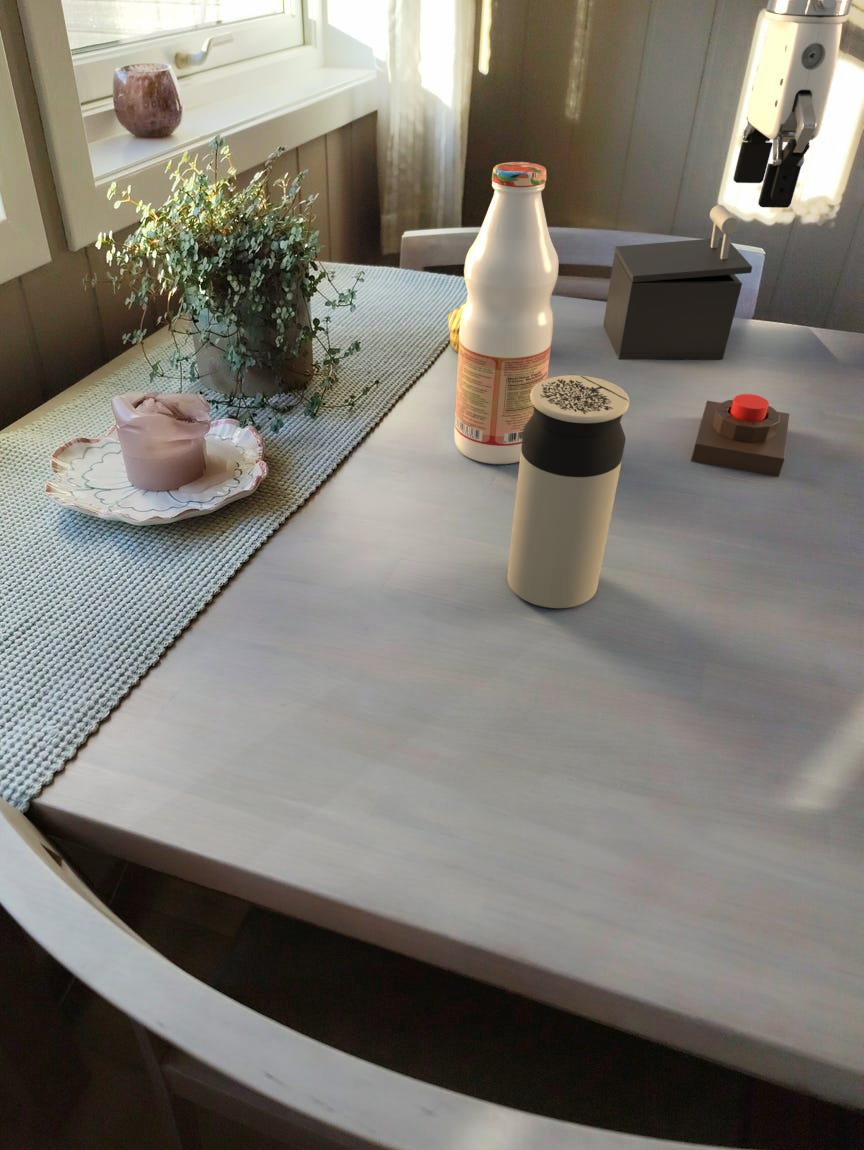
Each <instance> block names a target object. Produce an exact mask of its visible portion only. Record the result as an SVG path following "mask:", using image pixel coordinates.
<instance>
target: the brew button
mask: <svg viewBox="0 0 864 1150" xmlns="http://www.w3.org/2000/svg"><path fill="white" fill-rule="evenodd" d="M732 400H733V404H732V408H731V411H730V415H731V416H732V417H734V418H737V419H739V420H741V421H747V422H762V421H764V419H765V416H766V413H767V409H768V406H770V402H769V400H768V399H766V398H765V397H763V396H760V395H757V394H753V393H741V394H738V395H736V396H735V397H734V398H733V399H732Z"/></svg>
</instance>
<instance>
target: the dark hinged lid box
mask: <svg viewBox="0 0 864 1150" xmlns="http://www.w3.org/2000/svg"><path fill="white" fill-rule="evenodd" d="M742 286H743V282H742V281H741V280H740V279H739V278H738V276H737V274H732V275H720V276H707V277H695V278H682V279H670V280H657V281H645V282H632V281H631V279H630V277H629V276H628V274H627V272H626V270H625V269H624V267H623V265H622V263H621V262H620V260H619V258H618V257H617V255H616V253H615V252H614V255H613V260H612V268H611V274H610V281H609V286H608V293H607V299H606V305H605V312H604V316H603V325H602V326H603V328H604V330H605V333H606V335H607V337H608V339H609V341H610V344H611V346H612V348H613V350H614V352H615V355H616V357H617V358H618V360H683V361H685V360H693V361H695V360H699V361H701V360H702V361H703V360H711V361H713V360H715V361H716V360H719V361H721V360H724V356H725V353H726V350H727V345H728V341H729V337H730V333H731V330H732V325H733V321H734V317H735V313H736V310H737V305H738V301H739V297H740V294H741V289H742Z"/></svg>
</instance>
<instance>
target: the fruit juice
mask: <svg viewBox="0 0 864 1150" xmlns="http://www.w3.org/2000/svg"><path fill="white" fill-rule="evenodd" d="M546 182H547V168H546V167H545V166H543V165H541V164H538V163H534V162H529V161H528V162H526V161H509V162H502V163H499V164H496V165H495V166H494V167H493V170H492V173H491V186H492V189H493V190H494V192H493V196H492V198H491V201H490V204H489V206H488V209H487V211H486V214H485V217H484V220H483V222H482V224H481V227H480V229H479V232H478V234H477V236H476V238H475V239H474V242H473V243H472V245H470V247H469V249H468V251H467V254H466V256H465V260H464V267H463V276H464V282H465V286H466V292H467V298H466V302H465V303H464V304H465V305H464V308H463V311H462V315H461V322H460V331H459V353H457V354H458V355H457V356H458V357H457V372H456V373H457V376H456V391H455V393H456V394H455V395H456V396H455V410H454V411H455V413H454V414H455V415H454V431H453V433H454V443H455V446H456V448H457V450H458V452H460V453H461V454H462V455H463V456H465V457H467V458H469V459H470V460H473V461H476V462H480V463H483V464H489V465H509V464H510V465H511V464H515V463H518V462H519V463H520V455H521V446H522V437H523V429H524V426H525V425H526V423H527V422H528V421H529V419H530V418H531V416H532V415H533V414H534V408H533V404H532V402H531V399H530V393H531V391H532V389H533V388H534V386H535V385H537V384H538V383H540V382H541V381H544V380H546V379H548V375H549V374H548V373H549V365H550V356H551V348H552V340H553V331H554V314H553V310H552V309H553V308H552V306H551V297H552V294H553V292H554V289H555V287H556V284H557V281H558V276H559V256H558V253H557V251H556V248H555V247H554V244H553V242H552V239H551V236H550V232H549V228H548V223H547V217H546V214H545V213H546V212H545V209H544V208H545V207H544V204H543V199H542V198H543V197H542V192H543V190H544V189H545V187H546Z"/></svg>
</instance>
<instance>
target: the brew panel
mask: <svg viewBox="0 0 864 1150" xmlns="http://www.w3.org/2000/svg"><path fill="white" fill-rule="evenodd" d="M733 400H734V399H727V400H724V401H722V402H718V401H711V400H706V402H705V407H704V410H703V414H702V418H701V421H700V424H699V429H698V432H697V436H696V440H695V444H694V446H693V451H692V455H691V459H690V462H692V463H697V464H701V465H702V464H703V465H708V466H713V467H719V468H725V469H732V470H736V471H742V472H748V473H754V474H758V475H759V474H760V475H765V476H769V477H770V476H771V477H777V478H779V477H780V476H781V475H780V474H781V471H782V469H783V465H784V462H785V459H786V449H787V442H788V441H787V440H788V433H789V423H790V413H789V412H782V411H777V410H776V409H775V408H774V407H773V406H770V405H769V406H768V409H767V413H766V416H765V419H764V421H762V422H747V421H741V420H739V419H737V418H734V417H732V416H731V415H730V411H731V408H732V404H733Z"/></svg>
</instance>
